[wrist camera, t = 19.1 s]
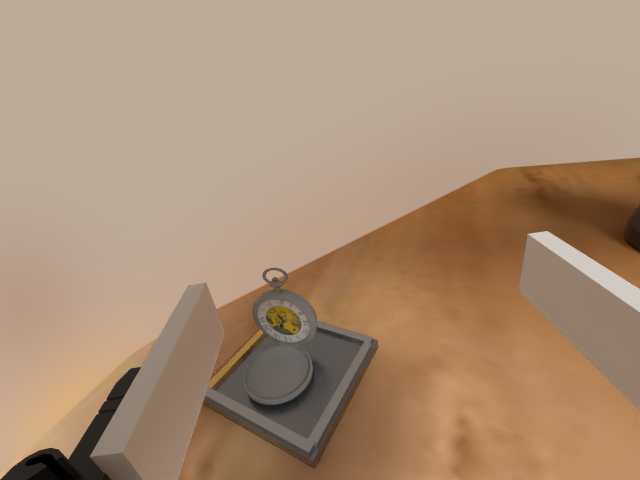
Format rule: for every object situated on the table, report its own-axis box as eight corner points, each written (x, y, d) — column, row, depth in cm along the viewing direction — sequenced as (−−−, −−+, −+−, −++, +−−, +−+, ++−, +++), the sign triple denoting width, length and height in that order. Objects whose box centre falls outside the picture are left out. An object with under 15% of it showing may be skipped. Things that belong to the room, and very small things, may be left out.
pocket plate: (280, 317, 40) (278, 308, 39) (377, 347, 33) (377, 337, 33) (200, 402, 30) (195, 392, 30) (314, 468, 24) (311, 457, 23)
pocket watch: (249, 420, 27) (215, 331, 22) (241, 351, 34) (214, 274, 30) (339, 386, 29) (324, 297, 24) (313, 327, 36) (297, 251, 31)
